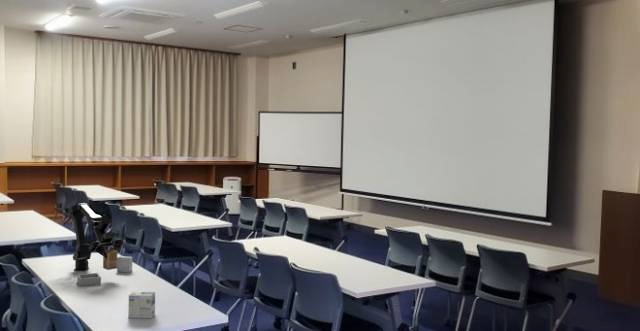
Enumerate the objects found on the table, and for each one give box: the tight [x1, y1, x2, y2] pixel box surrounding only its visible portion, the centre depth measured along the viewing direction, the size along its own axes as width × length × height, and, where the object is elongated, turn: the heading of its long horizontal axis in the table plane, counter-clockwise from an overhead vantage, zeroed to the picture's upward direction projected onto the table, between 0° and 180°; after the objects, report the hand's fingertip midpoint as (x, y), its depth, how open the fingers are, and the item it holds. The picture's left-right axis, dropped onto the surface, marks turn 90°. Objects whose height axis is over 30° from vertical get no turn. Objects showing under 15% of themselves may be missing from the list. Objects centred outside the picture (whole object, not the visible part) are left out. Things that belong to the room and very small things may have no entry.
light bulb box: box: [127, 291, 156, 319], centre depth 260 cm, size 11×7×11 cm, turn 92°
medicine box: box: [116, 255, 133, 273], centre depth 342 cm, size 8×4×9 cm, turn 84°
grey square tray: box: [77, 272, 102, 287], centre depth 313 cm, size 11×11×4 cm
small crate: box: [102, 248, 118, 271], centre depth 320 cm, size 6×6×10 cm
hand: (111, 257), depth 319 cm, fingers closed on small crate, 5 cm apart
